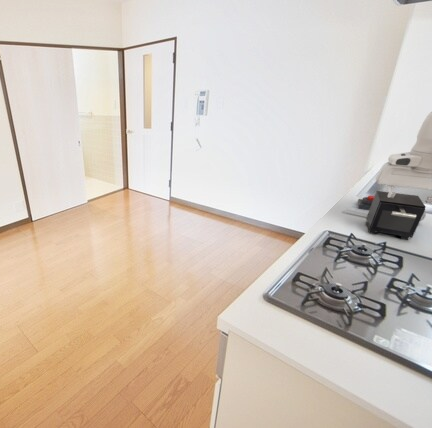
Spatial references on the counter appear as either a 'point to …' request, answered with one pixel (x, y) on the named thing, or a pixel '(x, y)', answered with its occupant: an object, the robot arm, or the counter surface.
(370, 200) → the release button
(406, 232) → the oven door
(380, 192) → the oven
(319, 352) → the counter surface
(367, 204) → the release box
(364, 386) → the counter surface
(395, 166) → the robot arm
